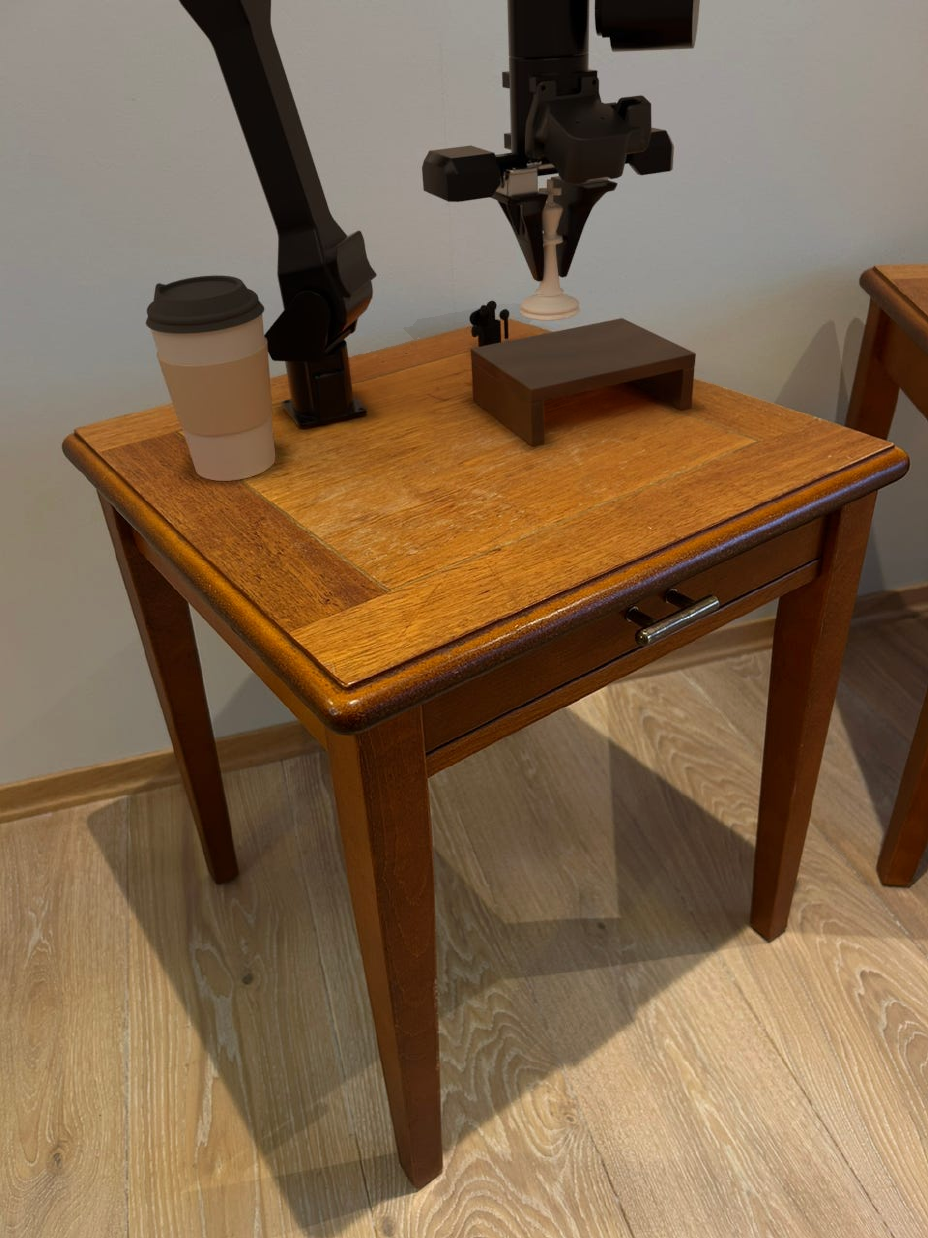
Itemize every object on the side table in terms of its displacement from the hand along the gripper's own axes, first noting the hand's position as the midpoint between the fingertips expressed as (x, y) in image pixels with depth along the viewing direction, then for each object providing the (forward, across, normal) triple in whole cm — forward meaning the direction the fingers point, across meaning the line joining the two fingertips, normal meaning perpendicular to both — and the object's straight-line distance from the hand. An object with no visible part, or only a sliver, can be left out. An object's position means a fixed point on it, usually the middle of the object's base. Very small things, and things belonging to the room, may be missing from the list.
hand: (549, 278), depth 78 cm
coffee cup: (+13, -27, +6) cm, 30 cm away
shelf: (+12, +4, +3) cm, 14 cm away
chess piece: (+3, 0, 0) cm, 3 cm away
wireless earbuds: (+13, +3, +21) cm, 24 cm away
